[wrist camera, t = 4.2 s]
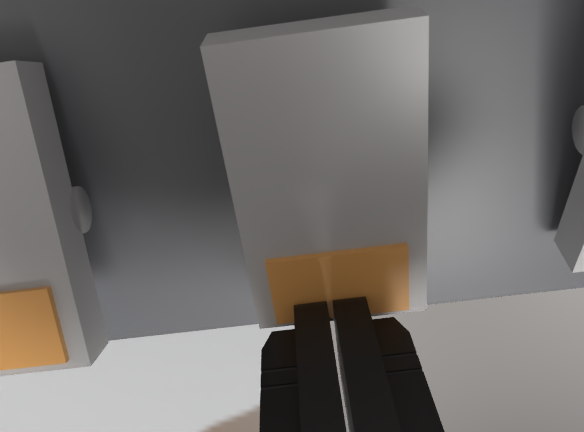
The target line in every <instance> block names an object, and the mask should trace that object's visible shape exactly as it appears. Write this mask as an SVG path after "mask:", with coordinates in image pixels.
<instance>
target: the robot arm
mask: <svg viewBox="0 0 584 432" xmlns="http://www.w3.org/2000/svg"><path fill="white" fill-rule="evenodd" d="M332 301H333V311H334V323H335V333H336V342H337V351H338V359H339V367H340V375H341V382H342V387H343V394H344V400H345V407H346V413H347V420H348V426H349V432H444V429H443V426H442V424H441V421H440V418H439V415H438V412H437V409H436V406H435V404H434V401H433V398H432V395H431V392H430V389H429V387H428V384H427V381H426V378H425V375H424V372H423V371H422V367H421V364H420V361H419V358H418V356H417V354H416V350H415V347H414V344H413V341H412V338H411V335H410V333H409V331H408V330H407V329H406V328H404V327H403V326H402V325H401V324H400V323H399V322H398V321H397V320H396V319H395V318H394V317H390V318H382V319H373V320H372V317H371V314H370V310H369V306H368V302H367V299H366V296H363V297H355V298H347V299H338V300H332ZM294 324H295V329H291V330H282V331H274V332H271V334H270V336H269V338H268V340H267V341H266V343H265V345H264V347H263V348H262V355H261V394H260V432H346V426H345V420H344V413H343V407H342V399H341V393H340V386H339V380H338V373H337V367H336V360H335V353H334V347H333V340H332V334H331V328H330V320H329V314H328V307H327V301H323V302H314V303H306V304H298V305H294Z"/></svg>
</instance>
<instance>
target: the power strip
mask: <svg viewBox="0 0 584 432" xmlns="http://www.w3.org/2000/svg"><path fill="white" fill-rule="evenodd" d="M411 5H415V6H417V7H418V8H419V9H421V10H422V11H424V12H425V13H426V14H428V15H429V80H428V213H427V305H430V304H438V303H447V302H457V301H465V300H474V299H483V298H492V297H500V296H501V297H502V296H510V295H519V294H528V293H536V292H546V291H555V290H563V289H573V288H582V287H584V272H575V273H572V272H571V270H570V268H569V266H568V265H567V263H566V261H565V259H564V257H563V256H562V254H561V252H560V250H559V249H558V247H557V245H556V243H555V242H554V238H555V235H556V232H557V229H558V226H559V223H560V220H561V217H562V214H563V211H564V209H565V206H566V203H567V200H568V197H569V194H570V191H571V188H572V185H573V182H574V179H575V177H576V174H577V171H578V168H579V165H580V162H581V159H582V156H583V155H582V154H580V153H579V151H578V150H577V149H576V147H575V144H574V141H573V137H572V121H573V117H574V114H575V112H576V110H577V109H578V108H579V107H580V106H583V105H584V0H0V62H7V61H14V60H16V61H29V62H41V63H43V67H44V71H45V76H46V80H47V84H48V88H49V93H50V97H51V101H52V105H53V110H54V114H55V118H56V122H57V126H58V131H59V135H60V139H61V143H62V148H63V152H64V156H65V160H66V165H67V169H68V173H69V177H70V181H71V186H72V187H75V186H80V187H82V188H83V189H84V190H85V191H86V193H87V195H88V197H89V200H90V203H91V208H92V223H91V227H90V229H89V231H88V232H86V233H83V236H84V241H85V245H86V249H87V253H88V258H89V262H90V266H91V270H92V275H93V279H94V283H95V287H96V291H97V296H98V300H99V304H100V308H101V313H102V317H103V321H104V325H105V330H106V334H107V338H108V341H109V340H118V339H127V338H135V337H144V336H153V335H162V334H171V333H180V332H189V331H198V330H207V329H216V328H225V327H234V326H243V325H252V324H259V322H258V317H257V313H256V308H255V303H254V299H253V294H252V289H251V285H250V280H249V275H248V270H247V266H246V261H245V256H244V252H243V247H242V242H241V238H240V233H239V228H238V223H237V219H236V214H235V209H234V205H233V200H232V195H231V190H230V186H229V181H228V176H227V172H226V167H225V162H224V158H223V153H222V148H221V143H220V139H219V134H218V129H217V125H216V120H215V115H214V111H213V106H212V101H211V96H210V92H209V87H208V82H207V78H206V73H205V68H204V64H203V59H202V54H201V49H200V46H201V44H202V42H203V40H204V39H205V37H206V35H207V34H208V33H215V32H222V31H230V30H237V29H244V28H251V27H259V26H266V25H273V24H280V23H288V22H295V21H302V20H309V19H316V18H324V17H331V16H338V15H345V14H353V13H360V12H367V11H374V10H382V9H389V8H396V7H403V6H411Z"/></svg>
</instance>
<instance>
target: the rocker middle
mask: <svg viewBox="0 0 584 432" xmlns="http://www.w3.org/2000/svg"><path fill="white" fill-rule="evenodd" d="M200 49H201V54H202V59H203V64H204V68H205V73H206V78H207V82H208V87H209V92H210V96H211V101H212V106H213V111H214V115H215V120H216V125H217V129H218V134H219V139H220V143H221V148H222V153H223V158H224V162H225V167H226V172H227V176H228V181H229V186H230V190H231V195H232V200H233V205H234V209H235V214H236V219H237V223H238V228H239V233H240V238H241V242H242V247H243V252H244V256H245V261H246V266H247V270H248V275H249V280H250V285H251V289H252V294H253V299H254V303H255V308H256V313H257V317H258V322H259V327H260V329H262V328H271V327H280V326H289V325H295V324H294V305H298V304H306V303H314V302H323V301H327V307H328V314H329V320H330V321H334V311H333V301H332V300H338V299H347V298H355V297H363V296H366V299H367V302H368V306H369V310H370V314H371V316H378V315H387V314H396V313H405V312H414V311H423V310H427V213H428V80H429V15H428V14H426V13H425V12H424V11H422V10H421V9H419V8H418V7H417V6H415V5H411V6H403V7H396V8H389V9H382V10H374V11H367V12H360V13H353V14H345V15H338V16H331V17H324V18H316V19H309V20H302V21H295V22H288V23H280V24H273V25H266V26H259V27H251V28H244V29H237V30H230V31H222V32H215V33H208V34H207V35H206V37H205V39H204V40H203V42H202V44H201V46H200Z"/></svg>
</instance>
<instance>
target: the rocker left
mask: <svg viewBox="0 0 584 432" xmlns="http://www.w3.org/2000/svg"><path fill="white" fill-rule="evenodd" d="M91 223H92V208H91V203H90V200H89V197H88V195H87V193H86V191H85V190H84V189H83V188H82V187H80V186H75V187H72V186H71V181H70V177H69V173H68V169H67V165H66V160H65V156H64V152H63V148H62V143H61V139H60V135H59V131H58V126H57V122H56V118H55V114H54V110H53V105H52V101H51V97H50V93H49V88H48V84H47V80H46V76H45V71H44V67H43V63H41V62H29V61H16V60H14V61H7V62H0V376H5V375H14V374H23V373H32V372H41V371H51V370H60V369H69V368H78V367H87V366H91V365H92V364H93V363H94V361H95V360H96V359H97V357H98V356H99V355H100V353H101V352H102V350H103V349H104V348H105V346H106V345H107V344H108V338H107V334H106V330H105V325H104V321H103V317H102V313H101V308H100V304H99V300H98V296H97V291H96V287H95V283H94V279H93V275H92V270H91V266H90V262H89V258H88V253H87V249H86V245H85V241H84V236H83V233H86V232H88V231H89V229H90V227H91Z"/></svg>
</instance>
